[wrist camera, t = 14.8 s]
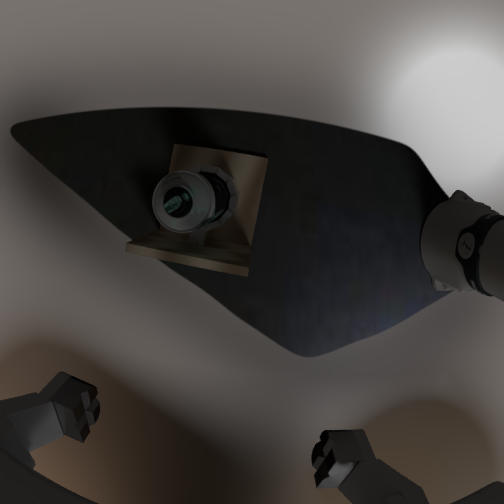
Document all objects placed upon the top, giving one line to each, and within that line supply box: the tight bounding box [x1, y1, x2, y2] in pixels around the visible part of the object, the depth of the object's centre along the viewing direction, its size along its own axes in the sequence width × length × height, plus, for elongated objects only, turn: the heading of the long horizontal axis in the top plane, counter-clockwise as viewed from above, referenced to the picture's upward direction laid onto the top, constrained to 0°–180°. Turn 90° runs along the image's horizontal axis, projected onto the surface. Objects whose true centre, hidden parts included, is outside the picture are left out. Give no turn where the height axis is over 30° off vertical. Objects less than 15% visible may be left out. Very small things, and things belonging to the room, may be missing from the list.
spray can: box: [152, 170, 231, 233], centre depth 30 cm, size 6×6×20 cm
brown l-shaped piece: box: [125, 144, 268, 277], centre depth 35 cm, size 14×14×13 cm
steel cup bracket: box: [188, 165, 240, 246], centre depth 37 cm, size 8×10×6 cm
